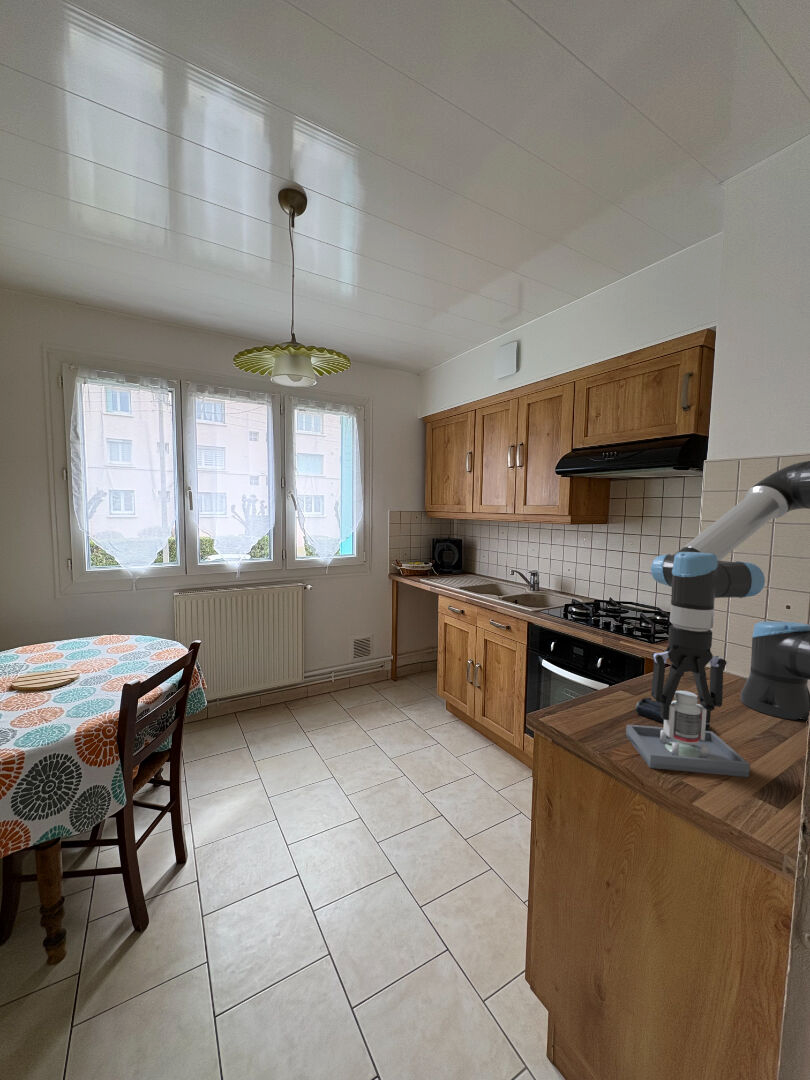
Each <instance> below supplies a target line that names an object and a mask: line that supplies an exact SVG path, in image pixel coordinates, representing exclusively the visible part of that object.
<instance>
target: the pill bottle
mask: <svg viewBox="0 0 810 1080" xmlns="http://www.w3.org/2000/svg"><path fill="white" fill-rule="evenodd" d="M674 699H675V700H672V703H671V704H672V705H673V706H674V707H675V712H674V728H673V738H671V737H670V738H671V739H673V740H675V741H677V742H679V743H682V744H686V745H696V744H698V743H699V730H700V716H701V710H700V708H699V707H698V706H697V705H696V704H698V702H699V695H698V694H696V693H693V692H690V691H687V690H676V692H675V695H674Z"/></svg>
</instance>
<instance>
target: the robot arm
mask: <svg viewBox="0 0 810 1080" xmlns="http://www.w3.org/2000/svg"><path fill="white" fill-rule="evenodd" d="M800 509H801V510H802V509H807V510H809V509H810V460H807V461H800V462H796V463H793V464H790V465H788V466H785V467H783V468H780V469H779V470H777V471H775V472H773V473H771V474H770V475H768V476H766V477H764V478H763V479H761V480H760V481H759V482H757V483H756V484H754V485H753V486H752V487H751V488H749V489H748V490H747V491H746V493H745V498H743V499H742V500H741V501H740V502H738V503H736V505H734V506H733V507H732V508H731V509H729V510H728V511H727V512H726V513H724V514H723V515H722V516H721V517H719V518H718V519H717V520H716V521H714V522H713V523H712V524H711V525H710V526H708V527H707V528H706V529H704V530H703V531H702V532H701V533H699V534H698V535H697V536H695V538H692V540H690V542H688V543H686V544H685V545H684V546H683V547H682V548H681V549H679V550H678V551H676V552H675V553H674V554H670V553H668V554H660V555H657V557H655V558H654V559H653V561H652V563H651V566H650V573H651V576H652V578H653V580H654V581H655V582H657V583H658V584H662V585H664V586H667V587H670V588H671V596H670V597H671V599H670V611H669V622H670V623H671V624H670V625H669V626H668V639H667V640H668V645H667V648H666V649H665V651H663V652H658V653H657V652H656V651H654V652H652V653H651V657H652V661H653V671H652V680H651V681H652V683H651V692H650V696H651V698H653V699H654V701H657V702H660V703H661V705H660V716H661V717H662V718H663V719H664V723H663V731H664V732H665V733H666V735H667V736H668V737H671V738H673V728H674V712H675V707H674V706H673V705H672V704H671V703H672V701H674V700H673V699H674V698H675V692H676V691H677V690H678V689H677V688H678V687H679V684H680V682H681V679H682V677H684V674H685V673H688V672H691V673H692V674H693V677H694V683H695V686H696V687H695V688H696V691H697V696H698V701H699V703H697V704H696V705H697V706H698V707H699V708H700V710H701V716H700V730H699V739H700V740H705V731H706V729H705V727H706V723H709V724H710V722H711V716H712V715H711V714H712V713H711V712H712V711H714V710H715V707H718V708H721V707H722V706H723V689H724V688H723V687H724V686H723V685H724V670H725V668H726V666H727V663H728V661H727V660H725V658H722V657H721V656H719V655H713V653H712V651H711V648H712V642H713V631H712V630H711V629H713V628H714V614H715V613H714V611H715V599H718V598H719V599H720V598H721V599H722V598H724V599H725V598H738V599H743V598H748V597H754V596H756V595H758V594H760V593H761V592H762V591H763V588H764V587H765V582H766V579H765V574H764V572H763V570H762V569H761V568H760V567H759V566H758V565H757V564H755V563H752V562H748V561H747V562H745V561H739V560H737V561H727V560H726V561H725V560H723V559H725V557H727V556H728V555H729V554H731V553H732V552H733V551H734V550H735V549H737V548H738V547H739V546H740V545H741V544H742V543H744V542H745V541H746V540H747V539H749V538H750V537H751V536H753V535H754V534H755V533H756V532H757V531H759V530H760V529H761V528H763V527H764V526H765V525H766V524H768V523H769V522H770V521H771V520H773V519H778V518H782V517H783V516H784V515H785V514H786V513H788V512H791V511H795V510H800ZM752 631H753V632H752V636H751V638H752V639H751V643H752V644H751V655H750V656H751V659H750V672H749V676H748V677H747V679H746V681H745V683H744V685H743V687H742V689H741V690H740V698H739V700H740V702H741V703H742V704H743V705H745V706H746V707H748V708H750V709H751V710H754V711H756V712H759V713H762V714H764V715H769V716H772V717H778V718H781V719H787V720H794V721H798V720H797V719H800V718H801V719H803V720H802V721H809V720H808V716H809V711H810V689H809V687H808V686H809V685H808V683H809V681H810V624H807V623H802V622H795V621H794V622H792V621H777V620H776V621H770V620H769V621H758V622H757V623H755V624H754V626H753V630H752ZM667 659H669V661H670V662H671V664H670V666H669V671H668V675H667V678H666V681H665V676H666V675H665V673H666V665H665V664H667V662H668V661H667ZM708 664H709V665H710V668H709V669H710V670H709V685H708V681H707V673H706V672H707V671H706V668H705V667H707V665H708ZM805 719H806V720H805Z"/></svg>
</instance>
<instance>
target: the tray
mask: <svg viewBox="0 0 810 1080" xmlns="http://www.w3.org/2000/svg"><path fill="white" fill-rule="evenodd" d="M625 729H626V730H625V737H626V738H627V739H628V741H629V742H630V743H631V744H632V746H633V747H634V748H635V750H636V751H637V753H638V754H639V755H640V756H641V758H642V759H643V760H644V762H645V763H646V764H647V766H648V767H649V768H650V769H657V770H658V769H659V770H669V771H670V770H671V771H679V772H680V771H682V772H690V773H701V774H713V775H721V776H731V777H732V776H733V777H743V778H750V768H751V764H750V763H749V762H748V761H747V760H746V759H744V757H742V755H740V754H739V753H737V751H735V750H734V749H733V748H732V747H731V746H730V745H728V744H727V743H726V742H725V741H724V740H723V739H722V738H720V737H719V736H718V735H717V734H716V733H715V732H714V731H710V730H709V731H706V730H705V740H700V739H699V743H698V744H696V745H686V744H682V743H679V742H677V741H675V740H673V739H671V738H670V737H668V736H667V735H666V733H665V732H664V731H663V727H661V726H652V725H651V726H650V725H649V726H648V725H637V724H626V728H625Z"/></svg>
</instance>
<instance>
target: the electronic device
mask: <svg viewBox="0 0 810 1080" xmlns="http://www.w3.org/2000/svg"><path fill="white" fill-rule="evenodd" d="M660 705H661V703H660V702H657V701H656V700H653V699H652V697H650V696H647V697H643V698H641V700H639V701H638V702H636V705H635V708H634V711H636V713H637V714H638V715H641V716H645V717H646V718H649V719H652V720H654V721H658V722H660V723H663V724H664V719H663V718H662V717H661V716H660ZM710 727H711V725H710V722H709V723H706V727H705V731H710Z"/></svg>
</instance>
